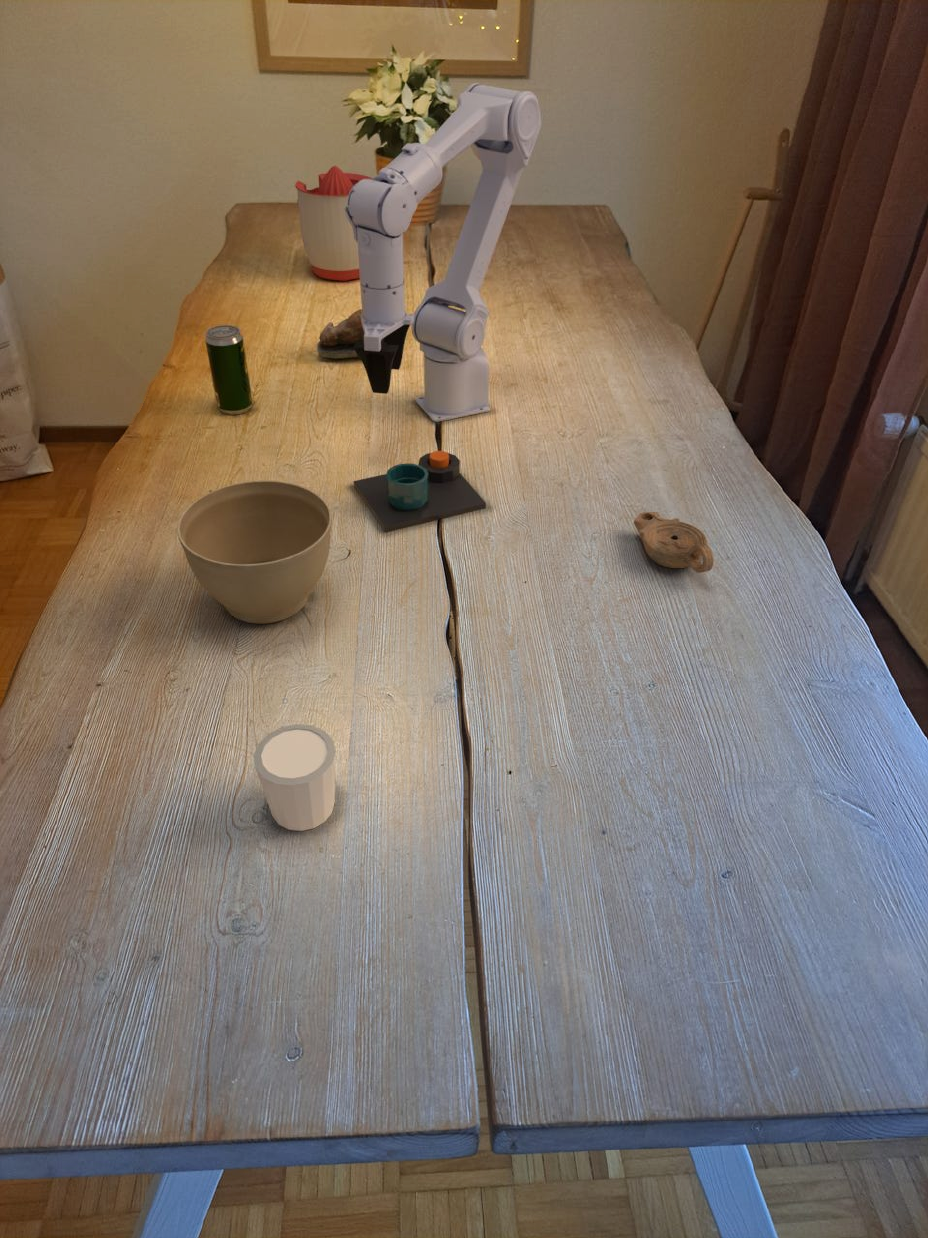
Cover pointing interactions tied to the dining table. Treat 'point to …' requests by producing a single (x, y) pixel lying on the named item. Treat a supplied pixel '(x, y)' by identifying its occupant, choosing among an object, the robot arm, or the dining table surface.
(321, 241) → the citrus juicer
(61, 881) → the dining table surface
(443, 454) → the button
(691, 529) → the oil lamp
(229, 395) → the beer can
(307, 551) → the planter bowl
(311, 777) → the beige cylinder
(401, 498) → the teal cup
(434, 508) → the scale
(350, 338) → the bison figurine
